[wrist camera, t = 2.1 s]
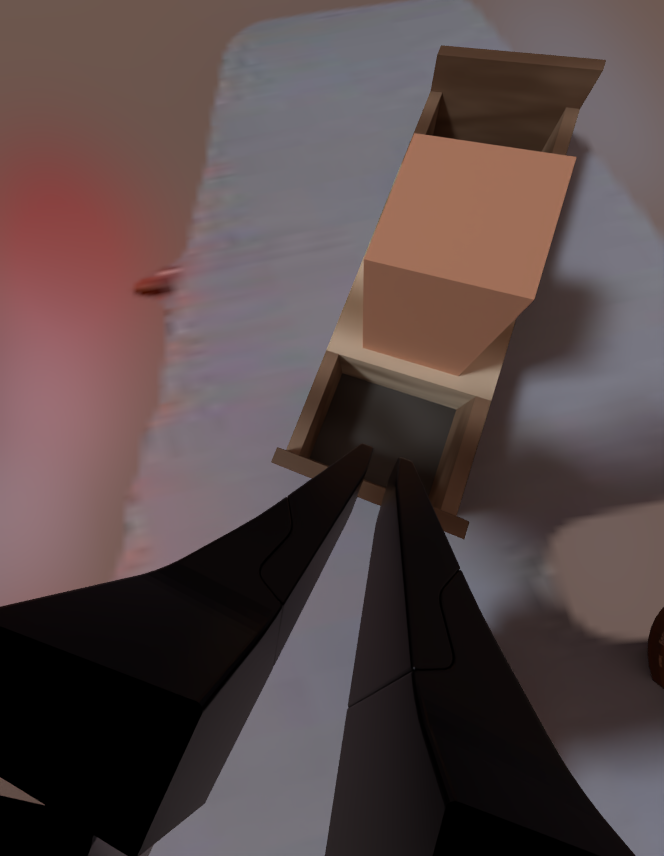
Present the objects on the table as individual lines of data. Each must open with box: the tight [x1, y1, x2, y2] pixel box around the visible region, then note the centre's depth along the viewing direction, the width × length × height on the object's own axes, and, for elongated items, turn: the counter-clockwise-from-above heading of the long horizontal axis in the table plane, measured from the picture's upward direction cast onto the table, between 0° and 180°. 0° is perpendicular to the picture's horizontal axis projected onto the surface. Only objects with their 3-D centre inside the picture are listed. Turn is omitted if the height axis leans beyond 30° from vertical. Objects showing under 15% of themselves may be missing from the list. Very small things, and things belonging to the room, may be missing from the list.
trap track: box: [271, 46, 606, 539], centre depth 20 cm, size 36×12×6 cm, turn 159°
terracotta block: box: [363, 133, 576, 376], centre depth 15 cm, size 7×7×8 cm
